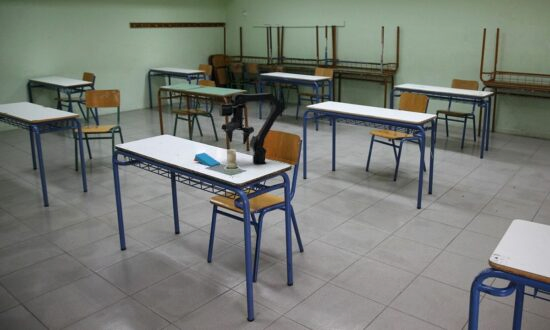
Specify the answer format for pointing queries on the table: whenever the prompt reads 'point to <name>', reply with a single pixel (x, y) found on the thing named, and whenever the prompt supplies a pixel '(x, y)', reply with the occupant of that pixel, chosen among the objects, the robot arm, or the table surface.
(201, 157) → the blue long block
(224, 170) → the thin grey base plate
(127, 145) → the table surface
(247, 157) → the table surface
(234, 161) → the birch peg
